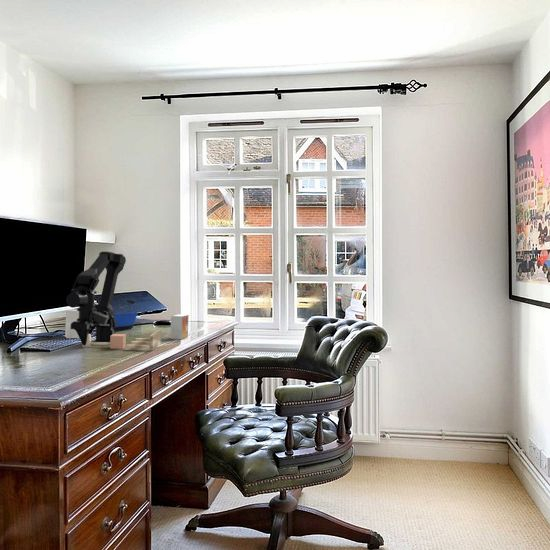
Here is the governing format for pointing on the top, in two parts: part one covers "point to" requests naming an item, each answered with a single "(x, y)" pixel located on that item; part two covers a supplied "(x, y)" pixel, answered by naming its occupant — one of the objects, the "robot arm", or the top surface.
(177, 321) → the small box
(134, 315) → the blue bin
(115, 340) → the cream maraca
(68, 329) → the white rectangular block
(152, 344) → the lane rack
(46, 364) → the top surface
